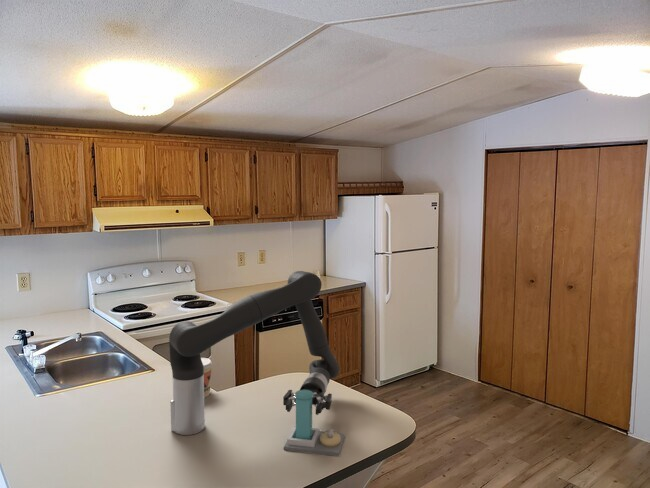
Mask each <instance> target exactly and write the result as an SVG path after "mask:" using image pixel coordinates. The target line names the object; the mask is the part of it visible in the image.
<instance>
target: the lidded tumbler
mask: <svg viewBox="0 0 650 488" xmlns="http://www.w3.org/2000/svg"><path fill="white" fill-rule="evenodd" d="M294 393H295V398H296V405H295V426H296V438H297V439H306V440H311V437H312V428H313V405H312V398H313V392H312V391H310V390H300V389H299V390H297V391H295V392H294Z"/></svg>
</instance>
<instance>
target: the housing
mask: <svg viewBox="0 0 650 488" xmlns="http://www.w3.org/2000/svg"><path fill="white" fill-rule="evenodd" d="M345 439H346V433H341V432H335V431H334V428H329V429H327V431H324V430H321V429H320V428H314V427H312V437H311V440H306V439H297V438H296V425H293V427H292V429H291V431H290V433H289V435H288V436H287V439H286V442H285V443H284V446H283V450H284V451H291V452H296V453H297V452H301V453H305V454H306V453H308V454H315V455H316V454H317V455H324V456H332V457H340V454H341V451H342V448H343V445H344V443H345V442H344V441H345Z"/></svg>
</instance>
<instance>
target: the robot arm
mask: <svg viewBox="0 0 650 488" xmlns="http://www.w3.org/2000/svg"><path fill="white" fill-rule="evenodd" d="M322 286H323V285H322V280H321V278H320V277H319V276H318V275H317V274H315V273H313V272H308V271H304V270H297V271H294V272H292V273H291V274H290V275H289V277H288V279H287V284H285V285H283V286H281V287H278V288H273V289H268V290H263V291H259V292H256V293H253V294H252V293H251V294H250V295H247V296H245V297H243V298H241V299H239V300H236V301H234V303H232V304H230V306H228V307H227V308H226V309H225V310H224V311H223V312H221V314H220V315H218V316H216V317H214V318H213V319H211V320H209V321H206V322H204V323H200V324H198V325H197V324H195V323H193V322H192V321H186V320H184V321H180V322H177V323H176V324H175V325H174V326H173V327H172V329H171V331H170V333H169V342H168V347H169V359H170V360H169V362H170V367H171V370H172V372H171V373H172V399H171V400H170V405H169V406H170V431H171V432H173V433H176V434H177V435H180V436H181V435H182V436H191V435H195V434H198V433H200V432H202V431H203V430H204V429H205V427H206V425H205V420H206V418H205V415H206V414H205V397H204V367H203V363H202V360H201V358H202V356H201V353H203V352H205V351H207V350H208V349H210V348H212V347H214V346H215V345H216V344H218V343H219V342H220V343H221V341H224V340H225V339H227V338H229V337H232V336H234V335H236V334H238V333H240V332H242V331H244V330H246V329H248V328H251V327H253V326H255V325H258V324H259V323H262V321H265V320H266V319H269V318H271V317H273V316H275V315H277V314H279V313H281V312H282V311H284V310H286V309H288V308H291V307H293V306H295V308H296V310H297V314H298V316H299V318H300V322H301V326H302V328H303V331H304V336H305V339H306V340H305V341H306V343H307V347H308V351H309V354H310V355H311V356H313V357H320V358H322V359H316V360H313V361H311V362H310V364H309V366H308V371H309V374H308V376H307V377H306V378H305V380H304V381H303V383H302V385H301V387H300V389H299V390H310V391H312V392H313V398H312V406H314V407H315V415H316V416H318V415H319V414H322V412H323V410H324V409H325V410H331V406H332V403H333V399H332V398H333V397H332V396H333V394H332V393H327V395H326V392H327V388H328V385H329V383H330V380H331V379H336V378H338V375H339V373H340V366H339V362H338V361H337V359H336V357H335V355H334V354H333V351H332V350H331V348H330V346H329V342H328V337H327V334H326V331H325V327H324V325H323V323H322V321H321V319H320V317H319V315H318V314H317V311H316V309H315V307H314V304H313V301H312V299H314V298H315V297H317V296H318V295H319V293H320V292H321V289H322ZM295 393H296V392H293V390H292V389H289V390H287V392H285V394H284V396H283V401H282V403H283V406H285V411H286V412H287V413H290V412H291V411H292V409H293V407H296V398H295Z"/></svg>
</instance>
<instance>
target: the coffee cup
mask: <svg viewBox="0 0 650 488" xmlns="http://www.w3.org/2000/svg"><path fill="white" fill-rule="evenodd" d="M201 360H202V363H203V367H204V398H206V397H209V395H210V394H211V384H212V383H211V382H212V366H213V363H212V360H211V359H209V358H207V357H201Z"/></svg>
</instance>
